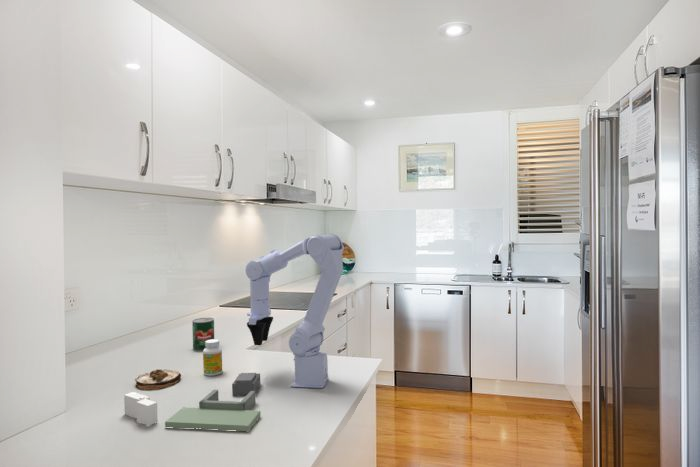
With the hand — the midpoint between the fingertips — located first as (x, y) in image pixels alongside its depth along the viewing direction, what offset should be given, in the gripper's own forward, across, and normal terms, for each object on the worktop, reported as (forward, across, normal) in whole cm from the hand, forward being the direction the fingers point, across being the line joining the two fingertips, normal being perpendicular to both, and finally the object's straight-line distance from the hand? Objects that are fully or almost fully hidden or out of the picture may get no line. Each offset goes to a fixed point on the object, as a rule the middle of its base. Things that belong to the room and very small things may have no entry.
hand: (261, 342), depth 137 cm
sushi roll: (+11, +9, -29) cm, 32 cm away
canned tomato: (+10, -26, -32) cm, 42 cm away
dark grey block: (+10, +13, 0) cm, 16 cm away
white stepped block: (+11, +33, -19) cm, 40 cm away
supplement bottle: (+10, 0, -16) cm, 19 cm away
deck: (+10, +29, 0) cm, 31 cm away
